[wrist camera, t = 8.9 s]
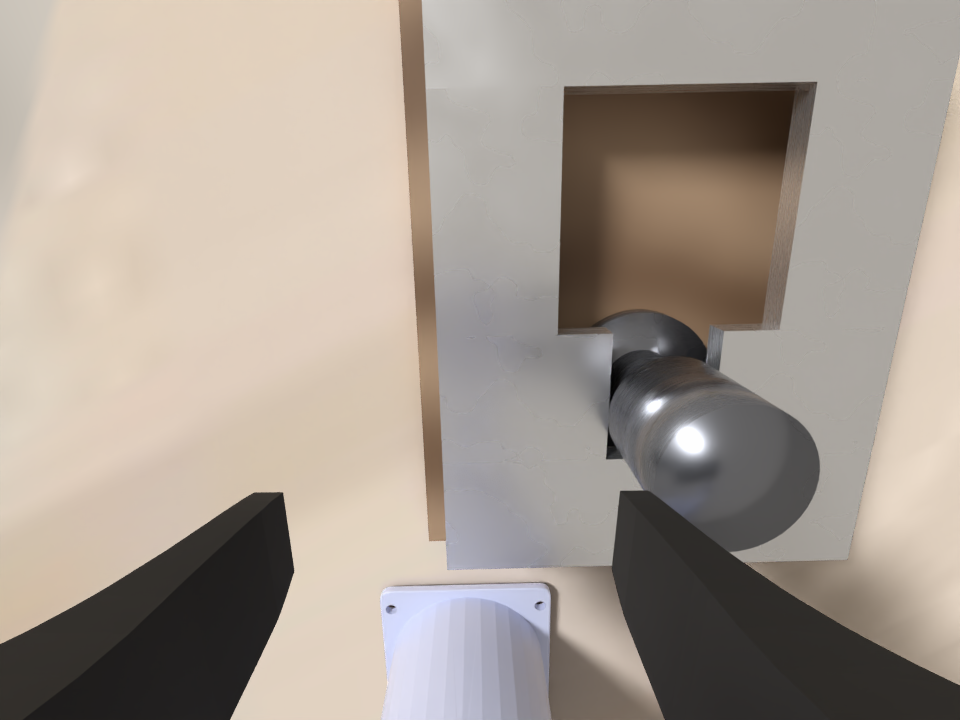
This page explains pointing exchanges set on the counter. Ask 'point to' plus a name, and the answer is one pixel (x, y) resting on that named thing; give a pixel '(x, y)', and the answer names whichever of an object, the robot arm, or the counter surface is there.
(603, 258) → the keyhole board
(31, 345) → the counter surface
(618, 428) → the dark grey knob
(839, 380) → the keyhole plate
